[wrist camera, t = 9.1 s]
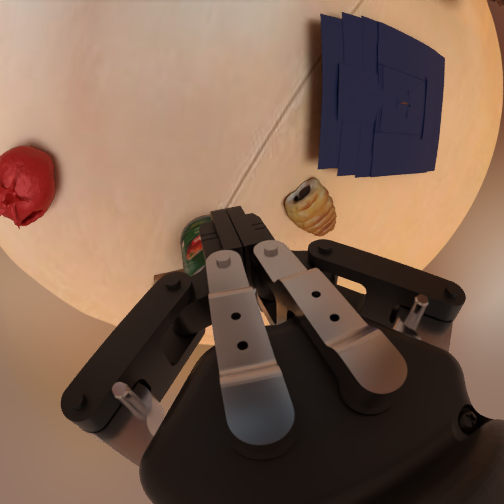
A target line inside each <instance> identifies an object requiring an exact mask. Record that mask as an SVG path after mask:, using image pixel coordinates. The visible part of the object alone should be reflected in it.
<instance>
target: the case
mask: <svg viewBox="0 0 504 504" xmlns="http://www.w3.org/2000/svg"><path fill="white" fill-rule="evenodd" d="M490 1H493V2H495V1H496V2H497V3H498V4H499V6H502V5H504V0H490Z"/></svg>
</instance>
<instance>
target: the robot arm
mask: <svg viewBox="0 0 504 504" xmlns="http://www.w3.org/2000/svg"><path fill="white" fill-rule="evenodd" d="M210 216H211V222H206V223H202V224H201V226H200V228H199V233H200V238H201V243H202V248H203V253H204V257H205V261H206V264H205V266H204V268H203V269H202V270H201V271H200V272H198V273H196V274H195V275H192V276H189V275H188V274H187V273H184V272H171V273H168V274H166V275H164V276H162V277H161V278H160V279H159V280H158V281H157V282H156V283H155V284H154V285H153V286H152V288H151V289H150V290H149V291H148V292H147V293H146V294H145V295H144V296H143V298H142V299H141V300H140V301H139V302H138V303H137V304H136V305H135V307H134V308H133V309H132V310H131V311H130V312H129V313H128V315H127V316H126V317H125V318H124V319H123V320H122V321H121V323H120V324H119V325H118V326H117V327H116V328H115V330H114V331H113V332H112V333H111V334H110V336H109V337H108V338H107V339H106V340H105V341H104V343H103V344H102V345H101V346H100V348H99V349H98V350H97V351H96V352H95V354H94V355H93V356H92V357H91V358H90V360H89V361H88V362H87V363H86V364H85V366H84V367H83V368H82V369H81V371H80V372H79V373H78V374H77V376H76V377H75V378H74V380H73V381H72V382H71V383H70V385H69V386H68V387H67V389H66V390H65V391H64V393H63V395H62V398H61V409H62V412H63V414H64V415H65V417H67V418H68V419H69V420H71V421H72V422H73V423H75V424H76V425H78V426H79V427H80V428H81V429H82V430H83V431H85V432H86V433H88V434H89V435H91V436H93V437H94V438H96V439H97V440H99V441H101V442H103V443H106V444H108V445H109V446H110V447H112V448H113V449H115V450H116V451H117V452H119V453H120V454H121V455H123V456H124V457H126V458H127V459H129V460H130V461H131V462H133V463H135V464H136V465H138V466H139V467H140V469H139V475H140V481H141V484H142V487H143V489H144V491H145V493H146V495H147V496H148V498H149V499H150V500H151V501H152V503H153V504H504V420H494V419H489V418H486V417H484V416H482V415H480V414H479V413H478V412H477V411H476V410H475V409H474V408H473V406H472V404H471V402H470V399H469V397H468V393H467V390H466V386H465V380H464V375H463V372H462V369H461V367H460V364H459V363H458V361H457V360H456V359H455V358H454V357H453V356H452V355H451V354H450V353H449V352H448V351H449V345H450V338H451V331H452V323H453V321H454V320H455V318H456V316H457V314H458V313H459V311H460V309H461V307H462V306H463V304H464V302H465V299H466V296H465V293H464V291H463V289H461V287H460V286H459V285H457V284H455V283H454V282H452V281H449V280H446V279H443V278H441V277H438V276H435V275H432V274H430V273H427V272H424V271H421V270H418V269H415V268H413V267H410V266H407V265H404V264H401V263H398V262H395V261H392V260H389V259H386V258H383V257H380V256H377V255H374V254H371V253H368V252H365V251H362V250H359V249H356V248H353V247H350V246H347V245H344V244H340V243H337V242H334V241H331V240H325V239H321V240H316V241H313V242H311V243H310V244H309V246H308V251H292V250H290V249H289V248H288V247H287V246H286V245H285V244H284V243H282V242H280V241H276V240H275V239H274V238H273V236H272V235H271V233H270V232H269V230H268V229H267V228H266V226H265V224H264V223H263V221H262V220H261V218H260V217H259V216H257V215H255V214H253V213H251V214H245V213H244V211H243V209H242V208H241V206H236V207H231V208H226V209H221V210H216V211H211V212H210ZM338 276H340V277H343V278H346V279H348V280H351V281H354V282H357V283H360V284H362V285H363V286H364V287H365V288H366V292H367V293H366V294H361V293H358V292H356V291H353V290H350V289H348V288H345V287H342V286H339V285H337V279H338ZM253 289H256V291H257V300H258V303H259V305H260V307H261V309H262V310H263V312H264V314H265V316H266V318H267V319H268V321H269V323H270V325H268V326H265V325H264V322H263V319H262V316H261V313H260V309H259V306H258V303H257V300H256V297H255V294H254V290H253ZM210 325H212V327H213V334H214V341H215V346H213V347H212V348H210V349H209V350H208V351H206V352H205V353H204V354H203V355H202V356H201V358H200V359H199V360H198V361H197V363H196V364H195V366H194V368H193V369H192V371H191V373H190V375H189V376H188V378H187V380H186V381H185V383H184V385H183V387H182V389H181V390H180V392H179V394H178V396H177V397H176V399H175V401H174V402H173V404H172V406H171V408H170V409H169V411H168V413H167V415H166V416H165V418H164V420H163V415H164V412H163V408H162V406H161V404H160V402H161V400H162V398H163V397H164V395H165V394H166V392H167V391H168V389H169V388H170V386H171V385H172V383H173V382H174V380H175V379H176V377H177V375H178V374H179V372H180V371H181V369H182V368H183V366H184V365H185V363H186V362H187V360H188V359H189V357H190V355H191V354H192V352H193V351H194V349H195V348H196V346H197V345H198V343H199V342H200V340H201V338H202V337H203V335H204V333H205V328H206V327H208V326H210ZM162 420H163V421H162ZM161 422H162V423H161Z"/></svg>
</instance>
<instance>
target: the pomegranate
mask: <svg viewBox="0 0 504 504" xmlns="http://www.w3.org/2000/svg"><path fill="white" fill-rule="evenodd" d="M53 172H54V164H53V162H52V159H51V157H50V156H49V155H48V154H46V153H45V152H43V151H40V150H38V149H36V148H34V147H27V146H18V147H15V148H13V149H10V150H9V151H7V152H5V153H4V154H2V155H1V156H0V216H1V215H3V216H4V217H7V218H9V219H11V220H13V221H14V223H15V225H17V226H18V228H19V229H20V227H19V226H27V225H29V224H31V223H32V222H35V221H36V220H37V219H38V218H40V217H42V216H43V215H44V214H45V212H46V211H47V210H48V208H49V206H50V204H51V202H52V200H53V198H54V195H55V181H54V174H53Z"/></svg>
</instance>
